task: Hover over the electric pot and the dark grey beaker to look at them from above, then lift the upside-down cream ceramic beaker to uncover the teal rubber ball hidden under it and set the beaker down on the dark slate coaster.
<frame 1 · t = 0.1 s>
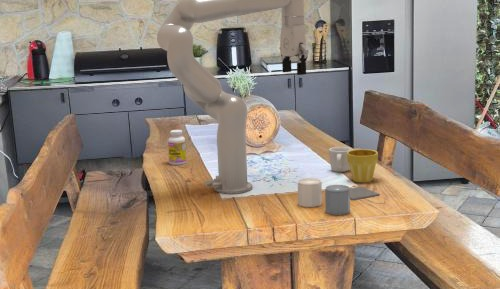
hand: (294, 73, 244), 37 cm above the table, tool pointing down, fingers open, 9 cm apart
plant pot: (362, 180, 247), on the table
coaster: (357, 194, 231), on the table
beaker a: (309, 203, 222), on the table
beaker b: (337, 211, 214), on the table
cup: (340, 172, 259), on the table
ball: (309, 199, 222), in the beaker a
supplement bottle: (177, 163, 280), on the table
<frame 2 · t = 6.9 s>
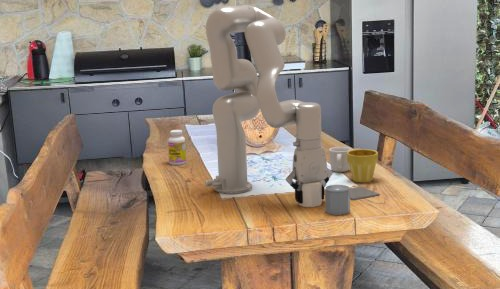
hand: (309, 200, 222), 1 cm above the table, tool pointing down, fingers closed on beaker a, 6 cm apart
beaker a: (309, 203, 222), on the table, touching gripper
everything else where it was.
when the fingers open (2 cm above the table, at t = 12.7 s): beaker a stays where it is, resting on coaster.
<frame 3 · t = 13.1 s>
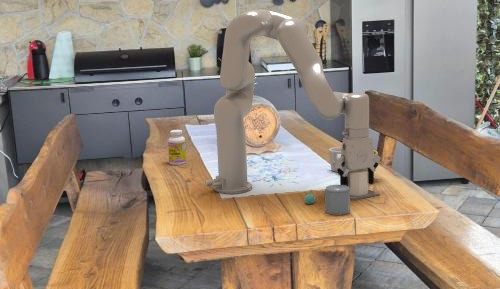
hand: (357, 185, 230), 3 cm above the table, tool pointing down, fingers open, 9 cm apart
beaker a: (356, 192, 231), resting on coaster
everything else where it was.
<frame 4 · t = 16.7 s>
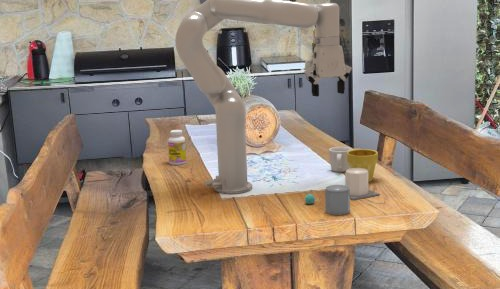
hand: (328, 94, 237), 30 cm above the table, tool pointing down, fingers open, 9 cm apart
nothing on the table moved.
at the end: beaker a inside the target area on the coaster (0.1 cm from its centre), point 0.5 cm above the coaster's base; beaker a tilted 0°; the gripper is holding nothing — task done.
